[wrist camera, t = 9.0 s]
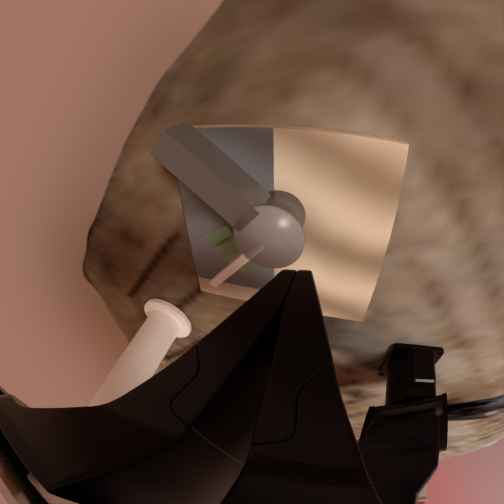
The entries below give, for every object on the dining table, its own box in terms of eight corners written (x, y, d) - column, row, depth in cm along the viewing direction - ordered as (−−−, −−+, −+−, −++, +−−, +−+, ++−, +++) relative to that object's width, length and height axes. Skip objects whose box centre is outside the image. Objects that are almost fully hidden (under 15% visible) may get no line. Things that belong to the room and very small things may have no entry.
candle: (196, 339, 36) (112, 494, 17) (155, 325, 38) (70, 462, 19) (185, 305, 32) (78, 486, 13) (140, 292, 34) (34, 445, 15)
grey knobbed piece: (324, 217, 18) (319, 245, 16) (247, 275, 24) (233, 302, 21) (200, 105, 16) (172, 114, 13) (148, 189, 21) (123, 208, 19)
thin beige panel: (362, 313, 24) (362, 322, 23) (205, 284, 28) (200, 291, 27) (405, 141, 14) (409, 145, 13) (178, 126, 19) (170, 130, 18)
